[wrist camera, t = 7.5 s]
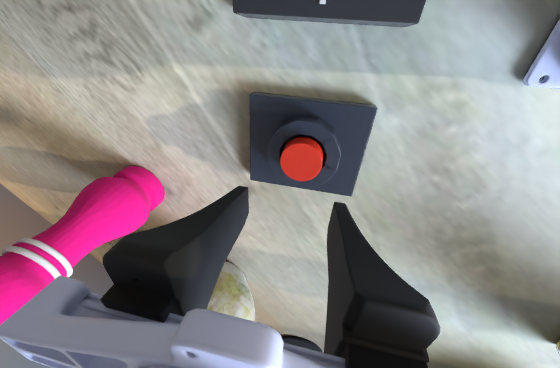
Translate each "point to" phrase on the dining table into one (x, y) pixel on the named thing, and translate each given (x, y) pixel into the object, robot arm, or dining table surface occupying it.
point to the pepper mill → (77, 234)
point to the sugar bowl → (232, 294)
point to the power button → (302, 159)
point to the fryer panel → (335, 11)
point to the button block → (312, 124)
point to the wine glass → (300, 343)
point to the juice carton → (558, 347)
